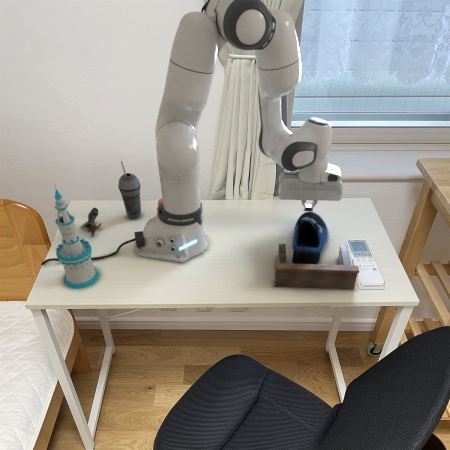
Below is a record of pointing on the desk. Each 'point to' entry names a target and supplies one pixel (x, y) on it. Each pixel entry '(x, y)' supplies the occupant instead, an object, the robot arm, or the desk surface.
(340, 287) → the wooden u-shaped bracket
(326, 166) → the robot arm
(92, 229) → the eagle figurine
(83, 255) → the model tower
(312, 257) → the shoe
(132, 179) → the beverage cup
